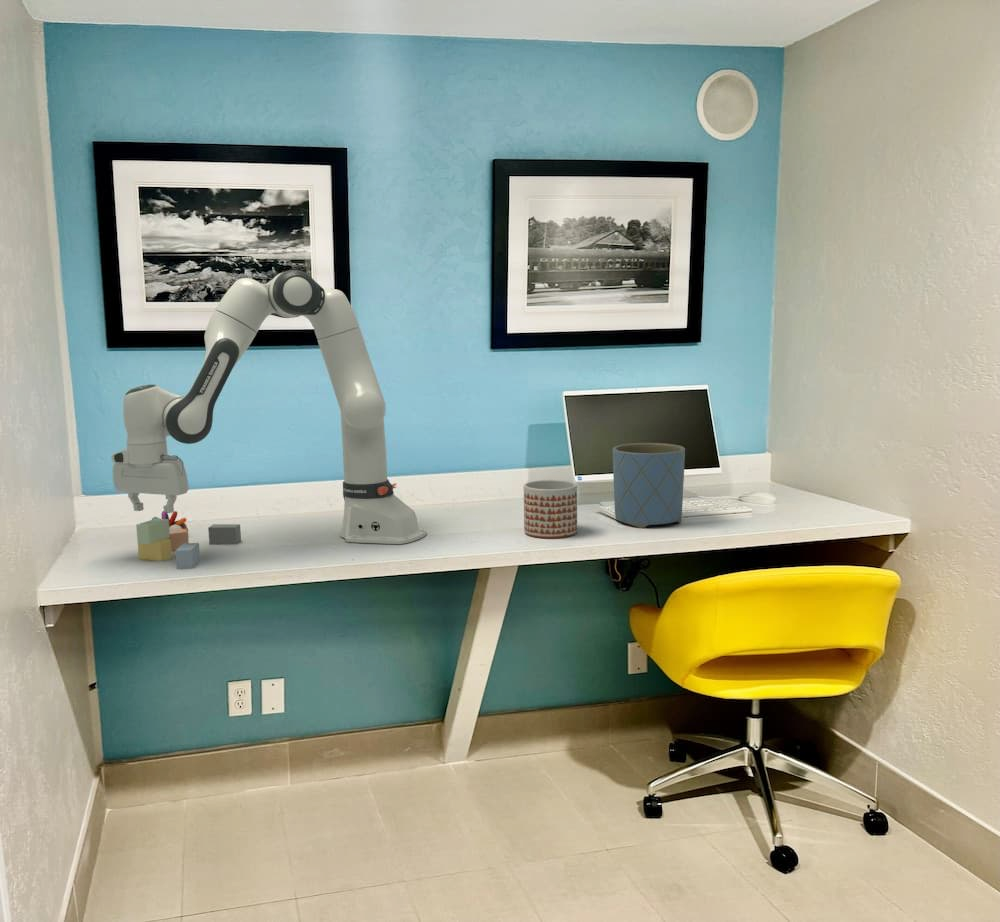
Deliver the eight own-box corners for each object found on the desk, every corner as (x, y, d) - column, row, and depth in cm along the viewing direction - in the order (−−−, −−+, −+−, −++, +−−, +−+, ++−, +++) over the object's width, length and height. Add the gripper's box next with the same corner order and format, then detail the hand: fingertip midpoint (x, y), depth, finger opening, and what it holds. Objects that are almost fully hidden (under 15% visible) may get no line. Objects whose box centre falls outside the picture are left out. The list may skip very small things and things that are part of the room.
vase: (529, 540, 239) (529, 490, 237) (520, 528, 253) (519, 480, 251) (582, 537, 242) (582, 488, 239) (570, 525, 255) (570, 478, 253)
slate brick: (184, 561, 226) (183, 543, 225) (199, 561, 226) (198, 542, 226) (176, 569, 219) (175, 550, 219) (192, 569, 220) (190, 550, 219)
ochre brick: (172, 557, 230) (170, 539, 229) (161, 561, 227) (160, 543, 226) (149, 555, 233) (148, 537, 232) (139, 558, 229) (137, 540, 229)
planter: (636, 532, 245) (637, 455, 242) (599, 518, 263) (599, 446, 259) (698, 524, 253) (699, 449, 250) (658, 510, 270) (658, 440, 267)
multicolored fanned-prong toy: (186, 540, 246) (184, 513, 245) (146, 543, 245) (144, 515, 244) (191, 533, 255) (189, 506, 254) (153, 535, 253) (151, 508, 252)
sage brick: (158, 536, 233) (157, 518, 232) (169, 537, 231) (168, 519, 231) (137, 543, 226) (136, 524, 225) (149, 544, 225) (147, 525, 224)
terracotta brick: (185, 546, 241) (184, 529, 240) (188, 549, 238) (187, 531, 237) (156, 550, 237) (155, 532, 237) (159, 553, 234) (158, 535, 234)
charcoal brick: (241, 541, 245) (240, 524, 244) (236, 544, 241) (235, 527, 241) (214, 541, 245) (213, 524, 245) (209, 544, 242) (208, 527, 241)
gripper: (191, 453, 224) (197, 511, 226) (125, 451, 232) (131, 506, 235) (172, 457, 218) (178, 517, 221) (105, 455, 227) (112, 512, 229)
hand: (153, 511), depth 228 cm, fingers open, 8 cm apart
